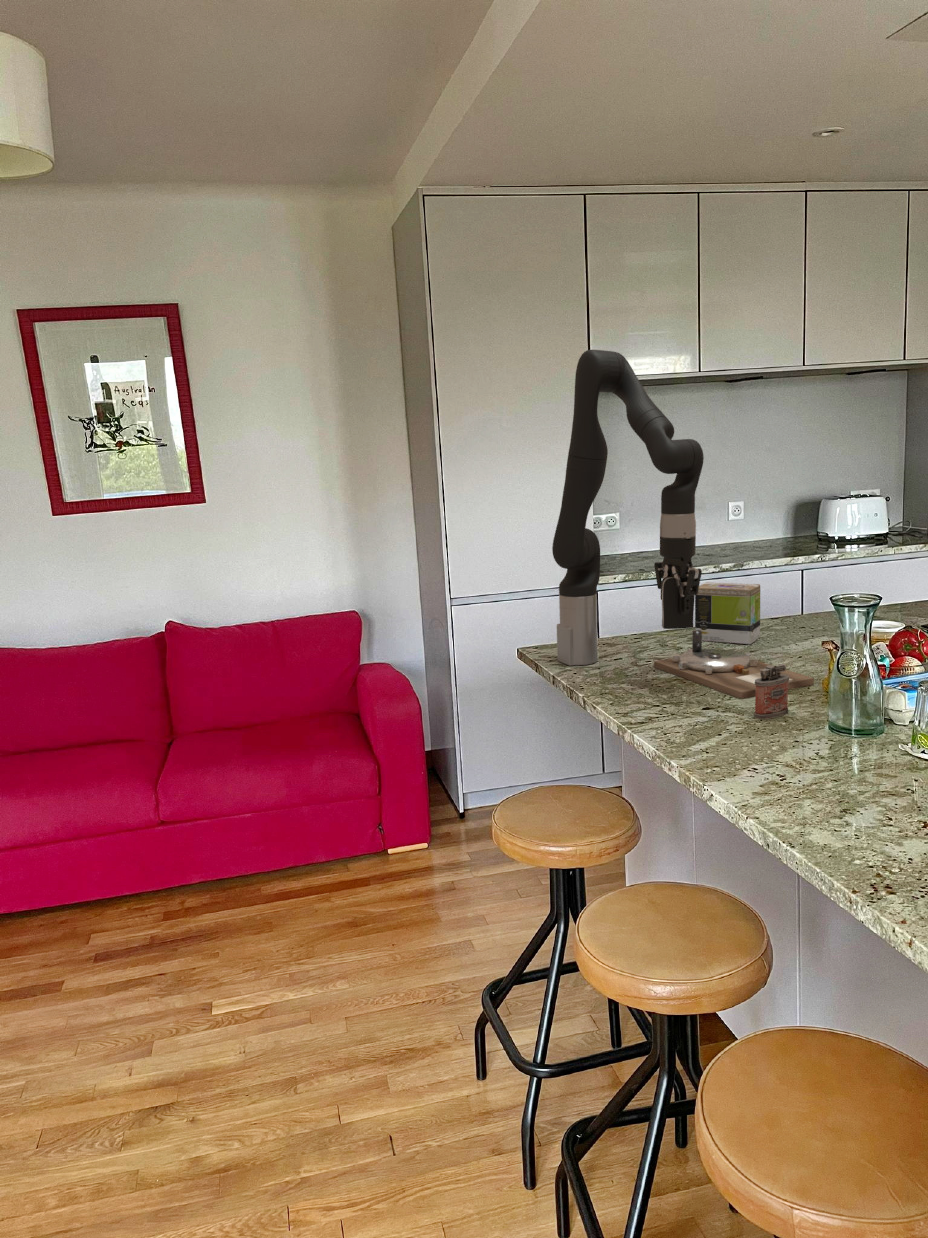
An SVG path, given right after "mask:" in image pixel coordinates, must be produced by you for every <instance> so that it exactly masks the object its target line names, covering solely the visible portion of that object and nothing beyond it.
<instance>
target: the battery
mask: <svg viewBox="0 0 928 1238" xmlns="http://www.w3.org/2000/svg"><path fill="white" fill-rule="evenodd" d="M687 579H688V578H687ZM687 579H686V580H684V581H681V582H682V583H683V582H687ZM661 580H662V582H661V589H660V600H661V611H662V613H661V614H662V615H661V616H662V619H661V628H662V629H665V630H679V629H681V630H682V629H692V628H694V613H695V595H693V596H691V597H690V612H689V614H680V613H679V597H680V593H679V588H678V587H676V583H675V578H674V577H665V578H664V579H663V578H662V579H661ZM691 589H693V586H692V587H691ZM685 590H686V586H684V591H685Z"/></svg>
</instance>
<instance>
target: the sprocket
mask: <svg viewBox="0 0 928 1238" xmlns="http://www.w3.org/2000/svg"><path fill="white" fill-rule="evenodd" d="M691 634H692V637H691V638H692V639H691V640H692V641H691V643H692V644H691V648H688V649H687V651H685V652H682V653H681V654H678V653H677V654H673V655H672V658H673V662H679V669H682V670H683V669H691V670H696V671H703V672H706V674H712V673H713V672H733V671H735V672H737V673H742V670H743V669H746V668H748V667H749V666H757V662H758V661H759V660H758V658H751V657H750V653H751V652H749V651H747V650H745V651H737V650H730V649H724V648H723V647H716V648H703V647H702V645H703V644H702V643H703V641H702V631H701V630H695V629H694V630H692V632H691Z"/></svg>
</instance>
